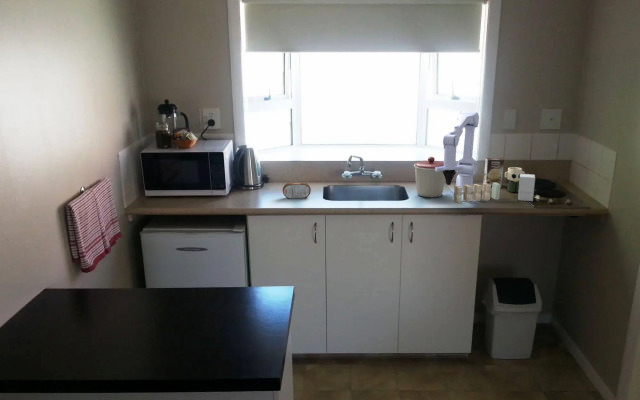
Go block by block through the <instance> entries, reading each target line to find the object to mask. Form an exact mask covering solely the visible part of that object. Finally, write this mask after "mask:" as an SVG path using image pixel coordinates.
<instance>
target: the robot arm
mask: <svg viewBox="0 0 640 400" xmlns="http://www.w3.org/2000/svg"><path fill="white" fill-rule="evenodd" d="M479 121H480V115H479V113H478V112H477V111H475V112H473V111H459V112H458V114H457V123H456V124H455V125H453V126H452V127H451V129H450V130H449V132H448V133H446V134H445V135H444V136H443V140H442V145H443V150H444V153H443V163H444V166H441V167H435V171H436V172H439V171H443V174H444V176H445V184H446V185H447V186H451V184H452V180H453V178H454V177H455V175H456V173H457V176H456V178H455V179H456V180H455V182H456V183H455V186H457V185H458V186H460V187H462V194H463V191H464V185H469V186H471V187H472V188H473V183H474V176H476V175H477V172H478V162H477V160H475V158H473V151H474V141H475V140H474V139H475V130H476V128H478V126H479V123H480V122H479ZM463 129H464V130H465V131H463ZM463 132H464V141H463V152H462V154H463V155H462V157H461V158H459V159H458V161H457V162H456V160H457V147H458V145H459V142H460V137H461V136H462V134H463ZM456 163H457V165H456ZM471 193H473V189H472V191H471Z"/></svg>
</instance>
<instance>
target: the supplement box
mask: <svg viewBox="0 0 640 400" xmlns="http://www.w3.org/2000/svg"><path fill="white" fill-rule="evenodd" d="M518 182H519V192H517V193H518V194H517V195H518V197H517V199H518V201H527V202H533V201H534V194H535V193H534V191H535V183H536V175H535V174H529V173H525V174H523V173H522V174H520V180H519V181H518Z"/></svg>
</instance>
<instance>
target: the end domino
mask: <svg viewBox="0 0 640 400" xmlns="http://www.w3.org/2000/svg"><path fill="white" fill-rule="evenodd" d="M500 192H501V187H500V184H498V183H496V182H495V183H493V184H492V187H491V195H490V198H492V199H494V200H500Z"/></svg>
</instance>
